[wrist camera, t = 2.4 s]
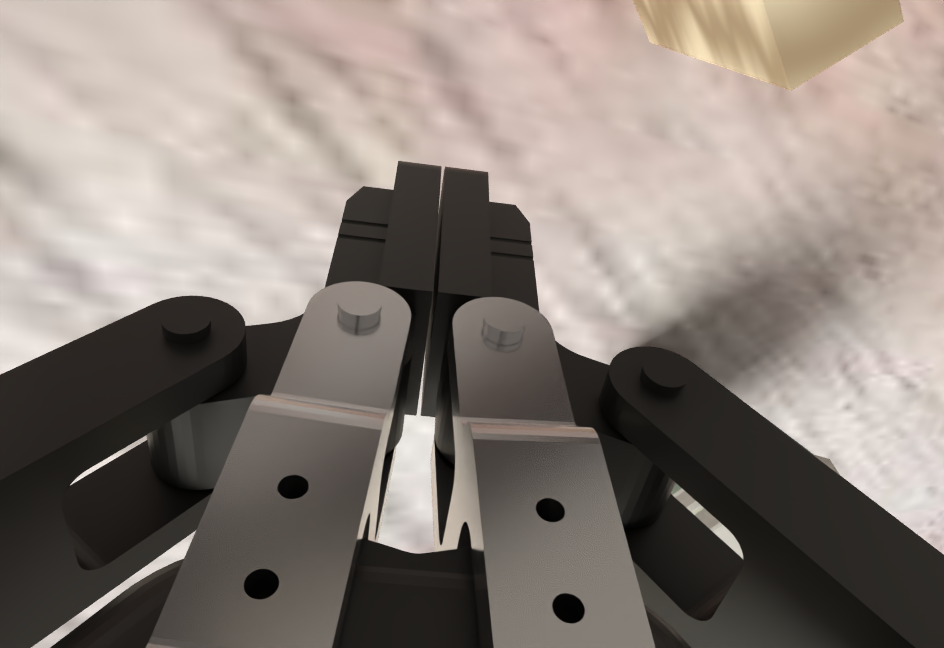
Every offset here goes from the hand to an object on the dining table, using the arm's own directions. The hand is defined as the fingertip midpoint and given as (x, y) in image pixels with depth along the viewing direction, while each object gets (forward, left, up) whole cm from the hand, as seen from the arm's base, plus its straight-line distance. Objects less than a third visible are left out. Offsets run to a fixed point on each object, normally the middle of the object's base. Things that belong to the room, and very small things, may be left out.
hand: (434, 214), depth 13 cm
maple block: (+6, +15, -25) cm, 29 cm away
